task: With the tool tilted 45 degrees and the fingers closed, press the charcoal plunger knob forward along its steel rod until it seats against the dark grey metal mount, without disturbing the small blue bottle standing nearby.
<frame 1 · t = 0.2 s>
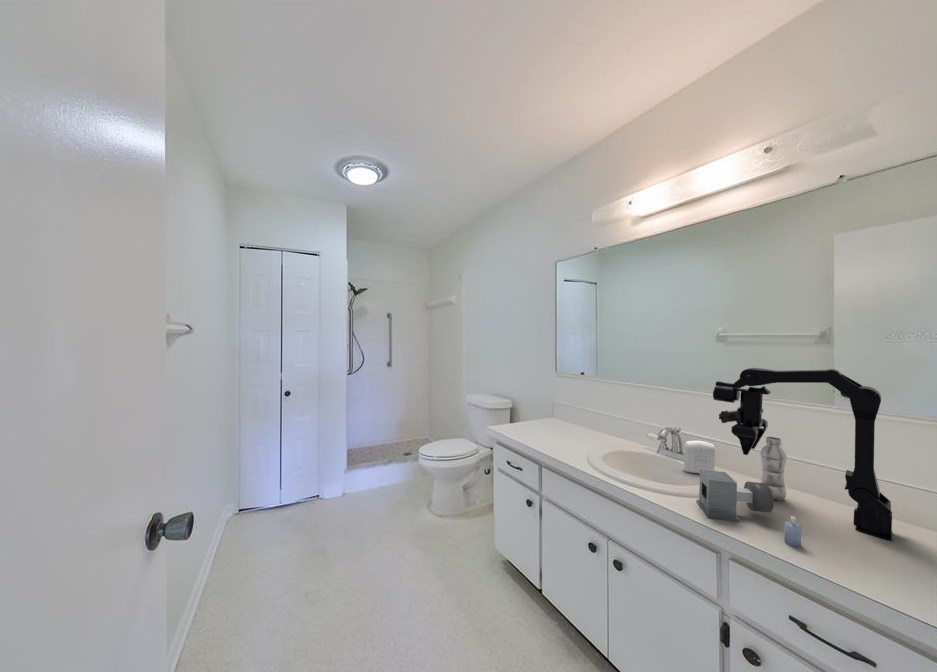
hand: (748, 451, 118), 15 cm above the counter, tool pointing down, fingers open, 9 cm apart
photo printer: (698, 472, 137), on the counter
knob: (740, 494, 105), point 6 cm above the counter, slide at 0.0 cm
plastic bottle: (772, 498, 116), on the counter
small blue bottle: (792, 543, 91), on the counter
mount: (730, 513, 106), on the counter
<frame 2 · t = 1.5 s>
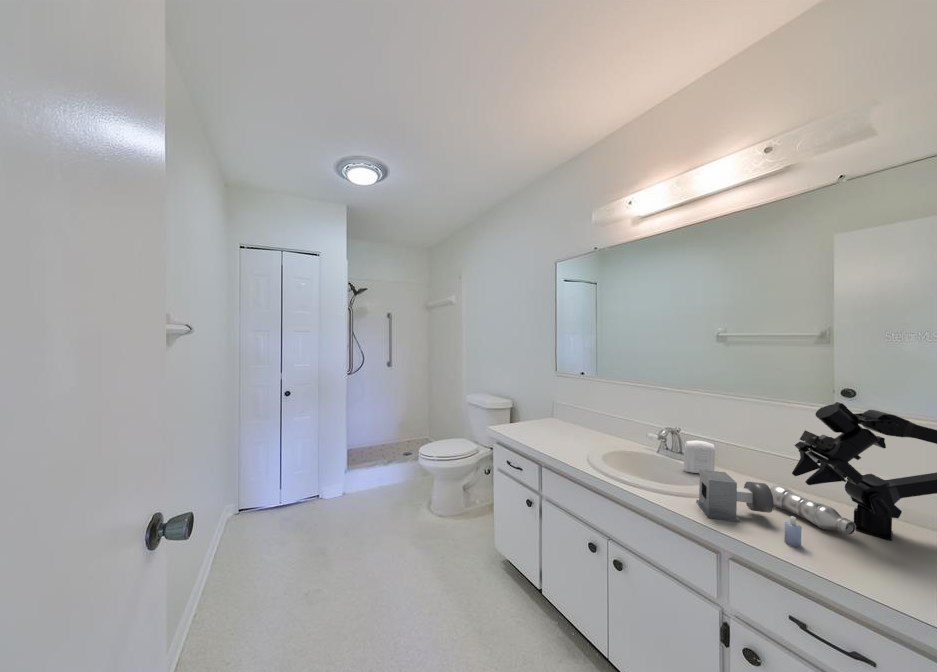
hand: (799, 479, 101), 13 cm above the counter, tool tilted 45°, fingers open, 6 cm apart
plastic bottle: (772, 493, 113), point 3 cm above the counter
everything else where it was.
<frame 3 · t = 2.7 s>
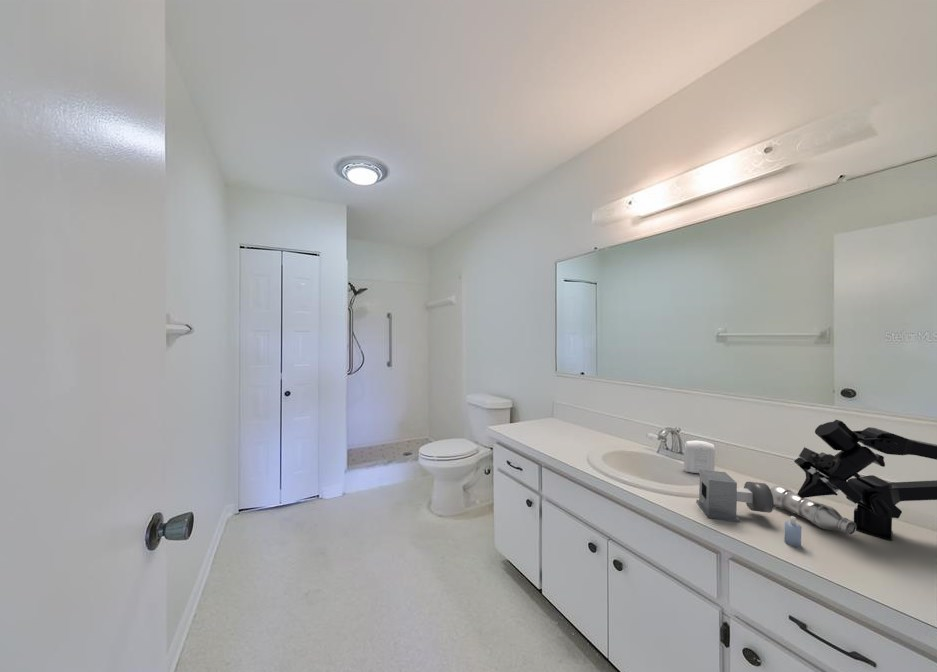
hand: (799, 496, 101), 8 cm above the counter, tool tilted 45°, fingers closed
nothing on the counter moved.
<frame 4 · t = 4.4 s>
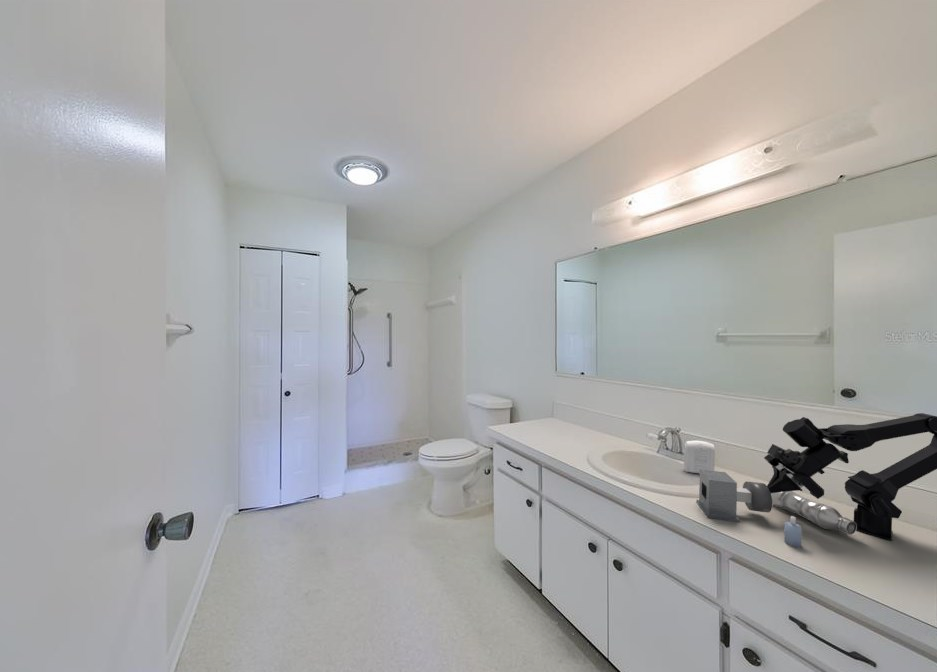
hand: (766, 491, 104), 8 cm above the counter, tool tilted 45°, fingers closed, pressing on knob
knob: (739, 494, 105), point 6 cm above the counter, slide at 0.3 cm, touching gripper
everything else where it was.
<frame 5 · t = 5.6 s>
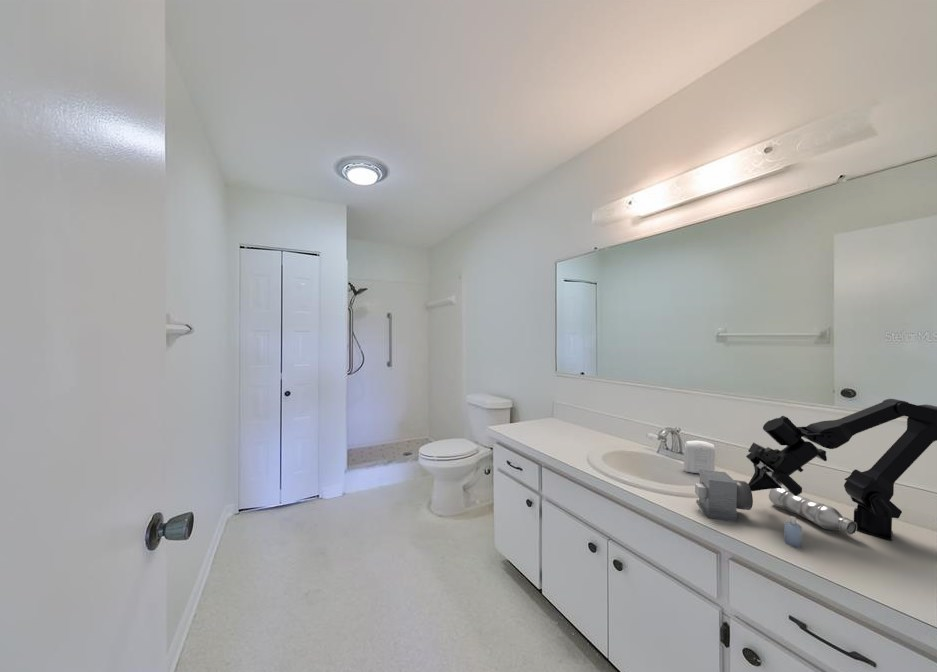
hand: (747, 489, 105), 8 cm above the counter, tool tilted 45°, fingers closed, pressing on knob
knob: (721, 492, 107), point 6 cm above the counter, slide at 5.0 cm, touching gripper, mount
everything else where it was.
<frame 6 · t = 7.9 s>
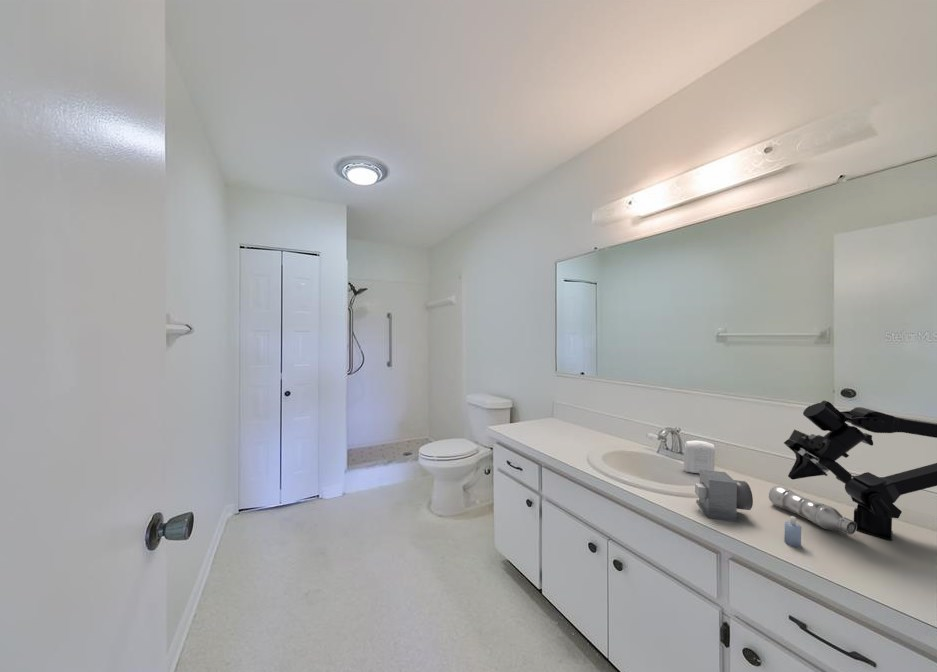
hand: (789, 477, 102), 13 cm above the counter, tool tilted 45°, fingers closed
knob: (721, 492, 107), point 6 cm above the counter, slide at 5.0 cm, touching mount
everything else where it was.
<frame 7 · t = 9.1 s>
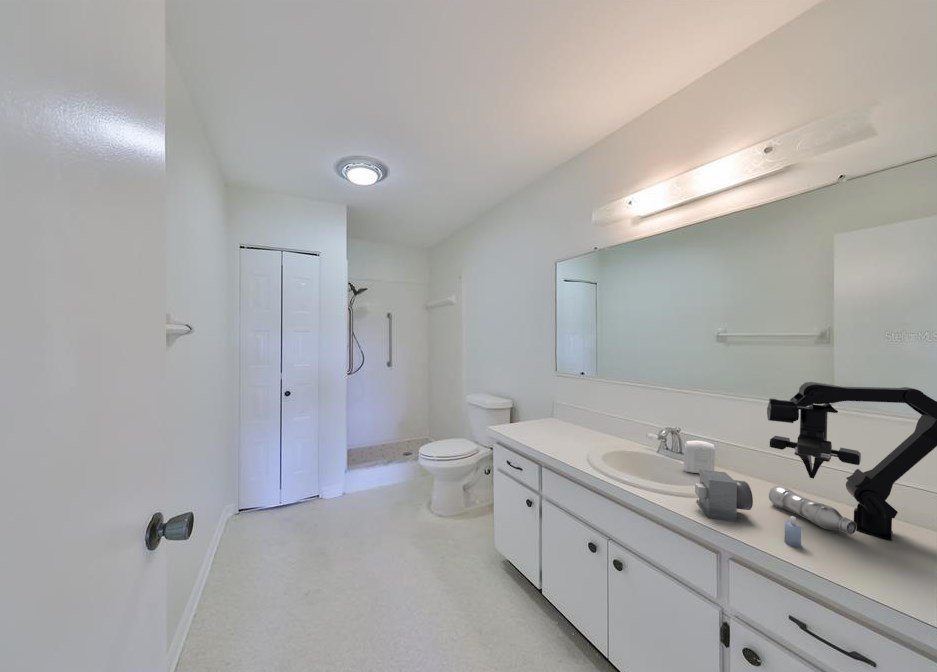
hand: (812, 478, 103), 12 cm above the counter, tool pointing down, fingers closed
nothing on the counter moved.
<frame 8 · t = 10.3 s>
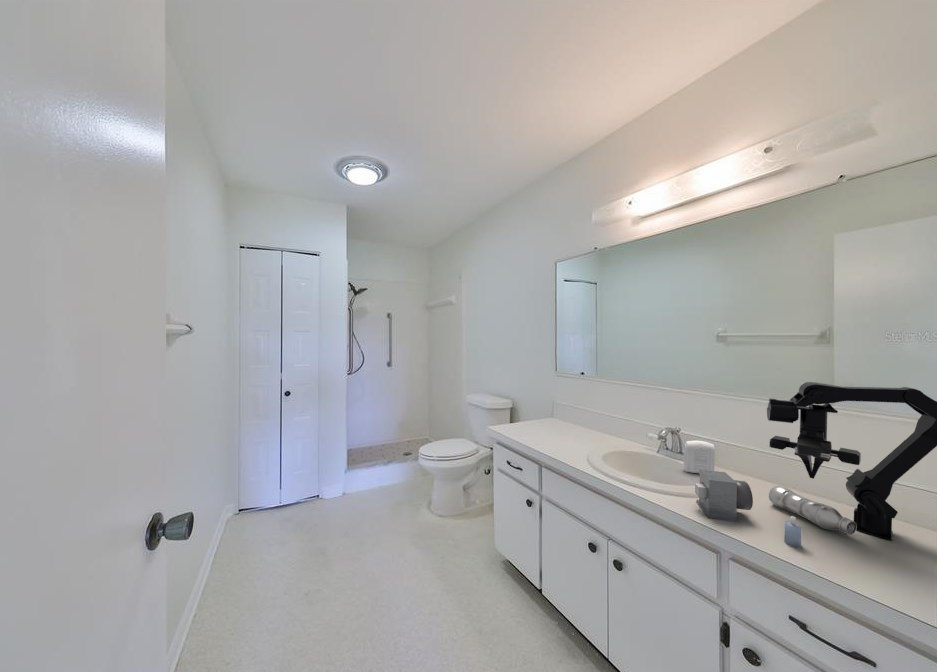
hand: (812, 478, 103), 12 cm above the counter, tool pointing down, fingers closed
nothing on the counter moved.
at the end: knob slide at 5.0 cm; small blue bottle moved 0.0 cm from its start; small blue bottle tilted 0° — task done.
